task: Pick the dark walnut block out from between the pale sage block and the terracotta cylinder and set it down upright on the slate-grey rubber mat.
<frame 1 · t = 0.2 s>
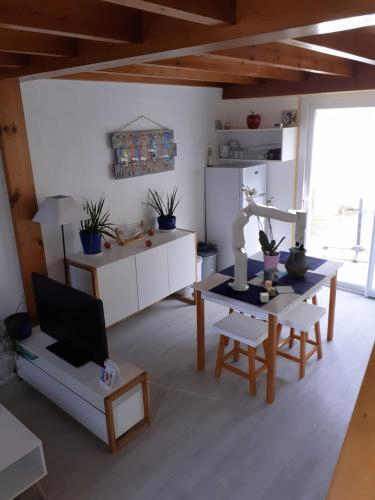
hand: (299, 248, 311), 31 cm above the table, fingers open, 9 cm apart
walnut block: (271, 294, 308), on the table
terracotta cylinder: (268, 288, 318), on the table
small box: (270, 281, 331), on the table
pitcher: (296, 276, 340), on the table
sage block: (264, 300, 299), on the table
grey mat: (284, 289, 315), on the table
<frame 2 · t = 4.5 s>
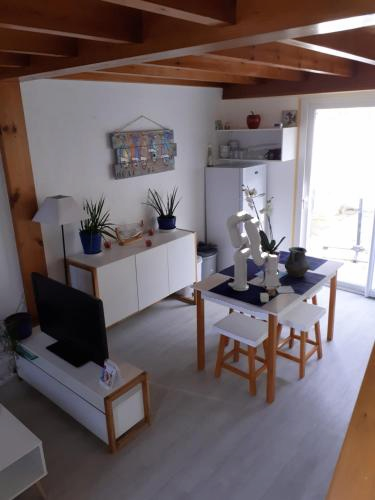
hand: (271, 293, 308), 1 cm above the table, fingers closed on walnut block, 5 cm apart
walnut block: (271, 294, 308), on the table, touching gripper
everything else where it was.
when the fingers open (3 cm above the table, at t = 11.0 s): walnut block drops 2 cm, resting on grey mat.
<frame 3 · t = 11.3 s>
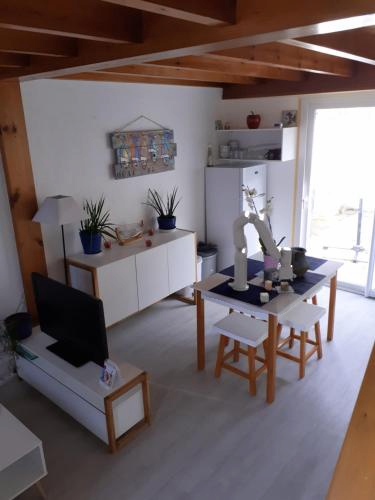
hand: (284, 285, 314), 4 cm above the table, fingers open, 8 cm apart
walnut block: (284, 289, 315), resting on grey mat
everything else where it was.
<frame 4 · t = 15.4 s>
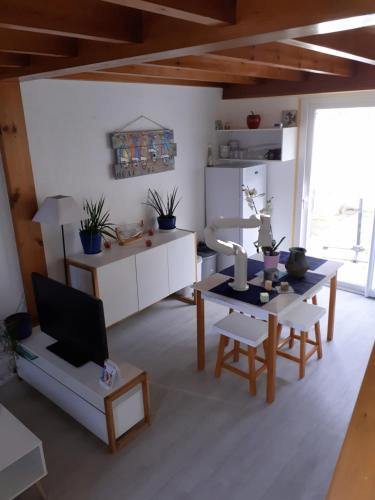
hand: (264, 252, 312), 28 cm above the table, fingers open, 9 cm apart
nothing on the table moved.
at the end: walnut block inside the target area on the grey mat (0.2 cm from its centre), point 0.5 cm above the grey mat's base; walnut block tilted 0°; the gripper is holding nothing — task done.
